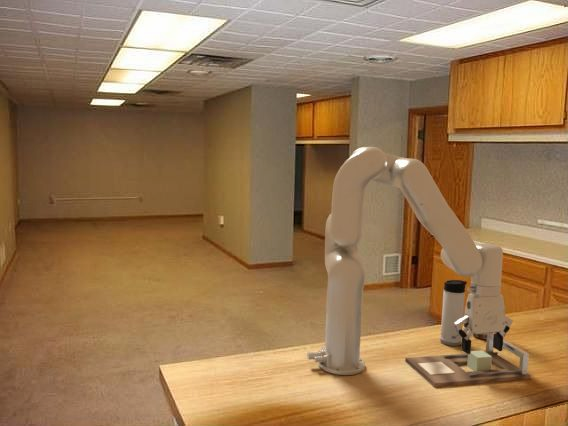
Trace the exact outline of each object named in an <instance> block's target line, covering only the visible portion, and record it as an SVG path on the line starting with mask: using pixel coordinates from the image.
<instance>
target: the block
mask: <svg viewBox="0 0 568 426" xmlns="http://www.w3.org/2000/svg"><path fill="white" fill-rule="evenodd" d="M492 365H493V364H492V356H490V355H489V354H487V353H486V351H484V350H471V353H470V354H468V361H467V364H466V366H467V368H469V369H471V370H472V371H483V370H492Z"/></svg>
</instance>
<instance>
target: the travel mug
mask: <svg viewBox="0 0 568 426" xmlns="http://www.w3.org/2000/svg"><path fill="white" fill-rule="evenodd" d="M467 284H468V283H467V281H466V280H461V279H450V280H446V281H445V282H444V285H443V286H444V287H443V295H442V310H441V324H440V325H441V326H440V338H439V341H440V343H442V344H443V345H445V346H451V347H458V346H460V345H461V344H462V337H461V336H460V335H459V334H458V332H457V331H456V328H455V326H454V323H455V322H456V321H458V320H459V319H461V318H463V317H464V313H465V295H466V285H467ZM463 326H464V325H462V327H463Z"/></svg>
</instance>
